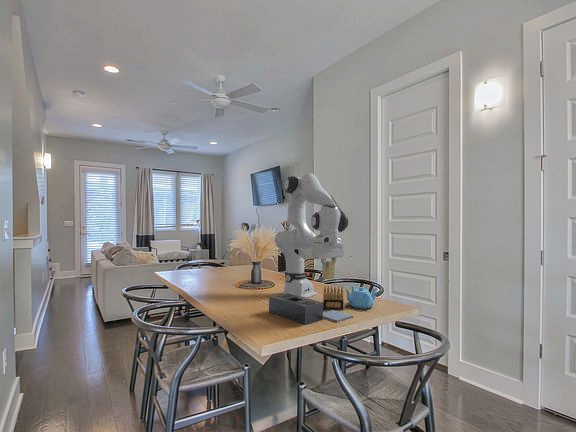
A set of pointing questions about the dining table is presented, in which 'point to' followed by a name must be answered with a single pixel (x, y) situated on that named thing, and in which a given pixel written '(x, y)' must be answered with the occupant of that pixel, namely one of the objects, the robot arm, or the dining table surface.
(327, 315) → the slate mat
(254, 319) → the dining table surface
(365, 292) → the teapot
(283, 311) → the dark grey socket block
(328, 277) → the brass plug
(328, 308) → the ammunition clip
